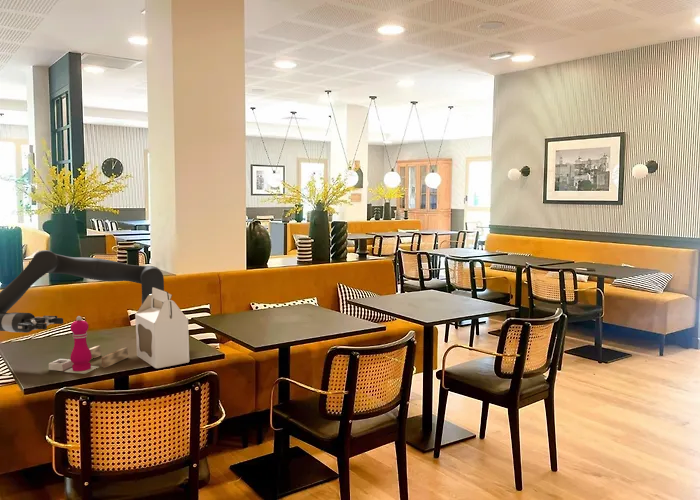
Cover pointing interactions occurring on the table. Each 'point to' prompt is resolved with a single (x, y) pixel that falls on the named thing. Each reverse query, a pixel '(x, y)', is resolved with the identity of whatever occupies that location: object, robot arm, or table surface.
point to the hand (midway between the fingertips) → (54, 323)
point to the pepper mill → (80, 346)
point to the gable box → (161, 331)
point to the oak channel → (109, 355)
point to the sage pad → (82, 371)
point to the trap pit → (60, 364)
